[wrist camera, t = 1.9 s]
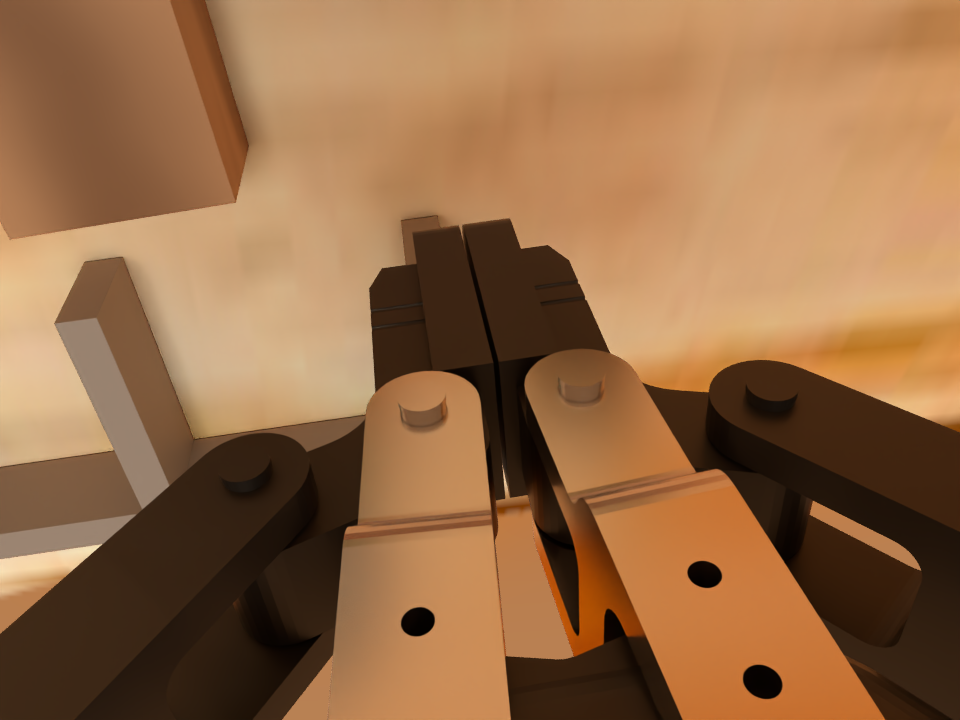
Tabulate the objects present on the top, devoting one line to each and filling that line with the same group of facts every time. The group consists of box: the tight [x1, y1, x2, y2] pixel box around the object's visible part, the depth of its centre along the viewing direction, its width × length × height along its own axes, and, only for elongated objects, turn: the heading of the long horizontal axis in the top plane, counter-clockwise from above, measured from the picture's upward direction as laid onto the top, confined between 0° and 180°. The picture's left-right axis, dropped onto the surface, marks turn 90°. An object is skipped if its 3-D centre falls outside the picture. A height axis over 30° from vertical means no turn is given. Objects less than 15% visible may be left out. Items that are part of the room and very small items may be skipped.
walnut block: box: [0, 0, 249, 239], centre depth 22 cm, size 6×6×4 cm
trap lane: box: [0, 216, 440, 559], centre depth 25 cm, size 28×21×4 cm
